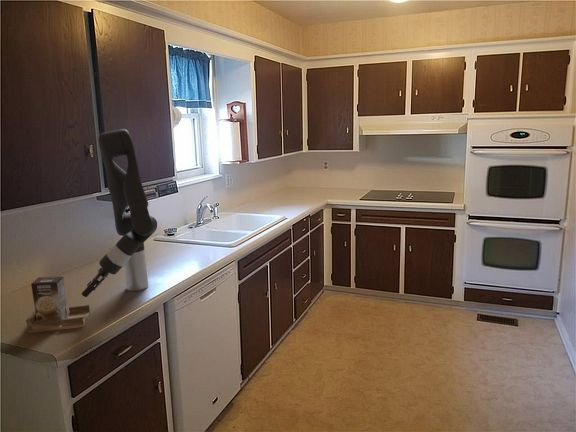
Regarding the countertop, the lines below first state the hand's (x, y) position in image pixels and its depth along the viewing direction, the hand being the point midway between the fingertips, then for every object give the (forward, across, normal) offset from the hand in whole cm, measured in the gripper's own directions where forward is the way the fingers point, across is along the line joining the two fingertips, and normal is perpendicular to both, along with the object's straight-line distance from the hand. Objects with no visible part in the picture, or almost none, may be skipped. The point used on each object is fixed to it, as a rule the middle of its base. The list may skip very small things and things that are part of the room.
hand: (86, 291), depth 162 cm
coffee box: (+16, 0, -2) cm, 16 cm away
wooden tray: (+15, 0, +1) cm, 15 cm away
